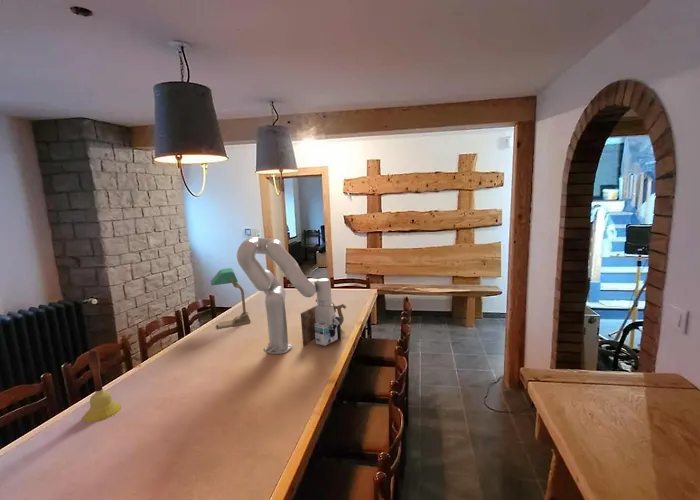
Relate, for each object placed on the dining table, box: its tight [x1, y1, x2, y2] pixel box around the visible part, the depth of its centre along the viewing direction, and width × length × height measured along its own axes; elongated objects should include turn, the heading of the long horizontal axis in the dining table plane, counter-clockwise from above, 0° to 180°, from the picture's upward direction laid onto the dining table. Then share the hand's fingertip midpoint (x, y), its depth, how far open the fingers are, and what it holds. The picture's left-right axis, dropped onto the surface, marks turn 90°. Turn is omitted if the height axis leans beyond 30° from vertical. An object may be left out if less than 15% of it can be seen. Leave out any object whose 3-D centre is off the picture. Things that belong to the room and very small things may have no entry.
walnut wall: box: [300, 305, 316, 347], centre depth 194 cm, size 15×1×18 cm, turn 151°
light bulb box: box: [315, 323, 338, 346], centre depth 188 cm, size 11×7×11 cm, turn 142°
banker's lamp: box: [210, 267, 252, 329], centre depth 226 cm, size 16×21×35 cm
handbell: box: [82, 348, 123, 423], centre depth 135 cm, size 12×12×25 cm
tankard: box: [315, 301, 347, 326], centre depth 213 cm, size 20×13×15 cm, turn 62°
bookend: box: [335, 315, 342, 341], centre depth 196 cm, size 1×14×13 cm, turn 61°
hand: (326, 334), depth 188 cm, fingers closed on light bulb box, 7 cm apart
